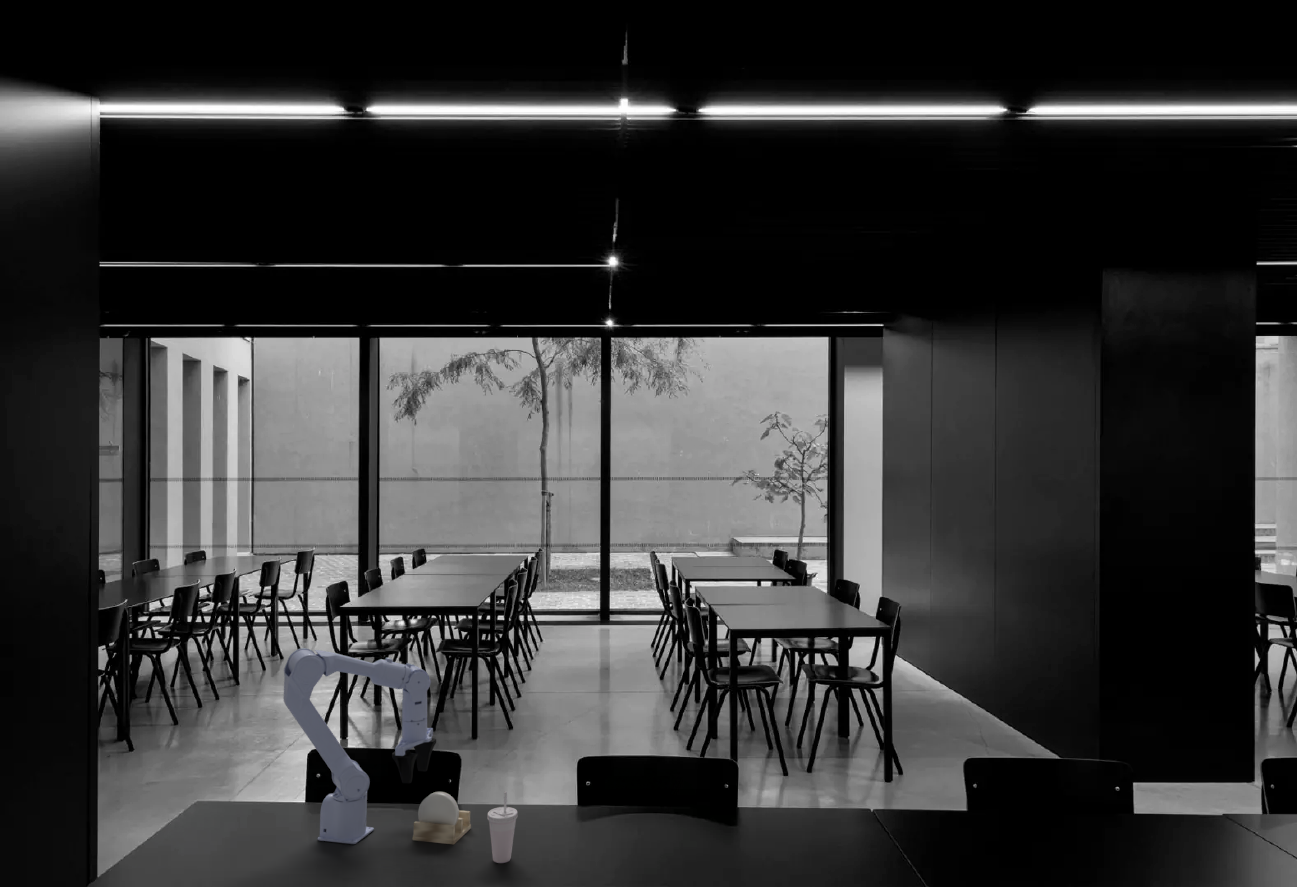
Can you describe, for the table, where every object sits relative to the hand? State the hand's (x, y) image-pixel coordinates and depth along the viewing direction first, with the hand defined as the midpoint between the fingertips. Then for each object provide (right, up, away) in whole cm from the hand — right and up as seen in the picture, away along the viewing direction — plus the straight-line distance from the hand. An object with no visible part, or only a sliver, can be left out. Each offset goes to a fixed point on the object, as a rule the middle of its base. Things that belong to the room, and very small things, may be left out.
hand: (414, 776), depth 192 cm
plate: (+8, -9, -9) cm, 15 cm away
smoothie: (+24, -10, -19) cm, 32 cm away
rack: (+8, -10, -7) cm, 15 cm away
